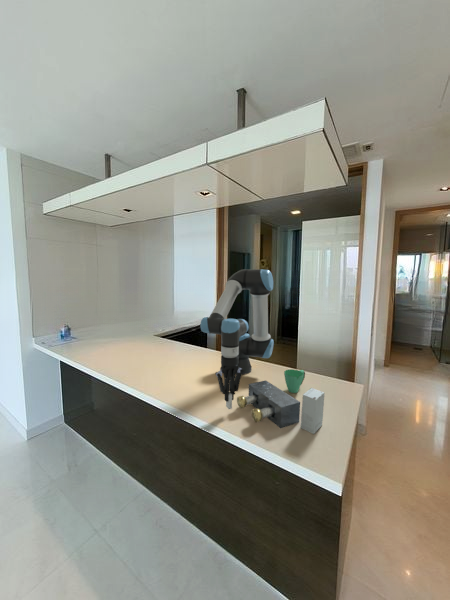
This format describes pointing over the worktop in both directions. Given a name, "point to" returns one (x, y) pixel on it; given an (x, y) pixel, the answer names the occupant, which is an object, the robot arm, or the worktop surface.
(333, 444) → the worktop surface
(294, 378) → the mug
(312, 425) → the skincare box
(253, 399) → the knob left
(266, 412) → the knob right
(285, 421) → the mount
